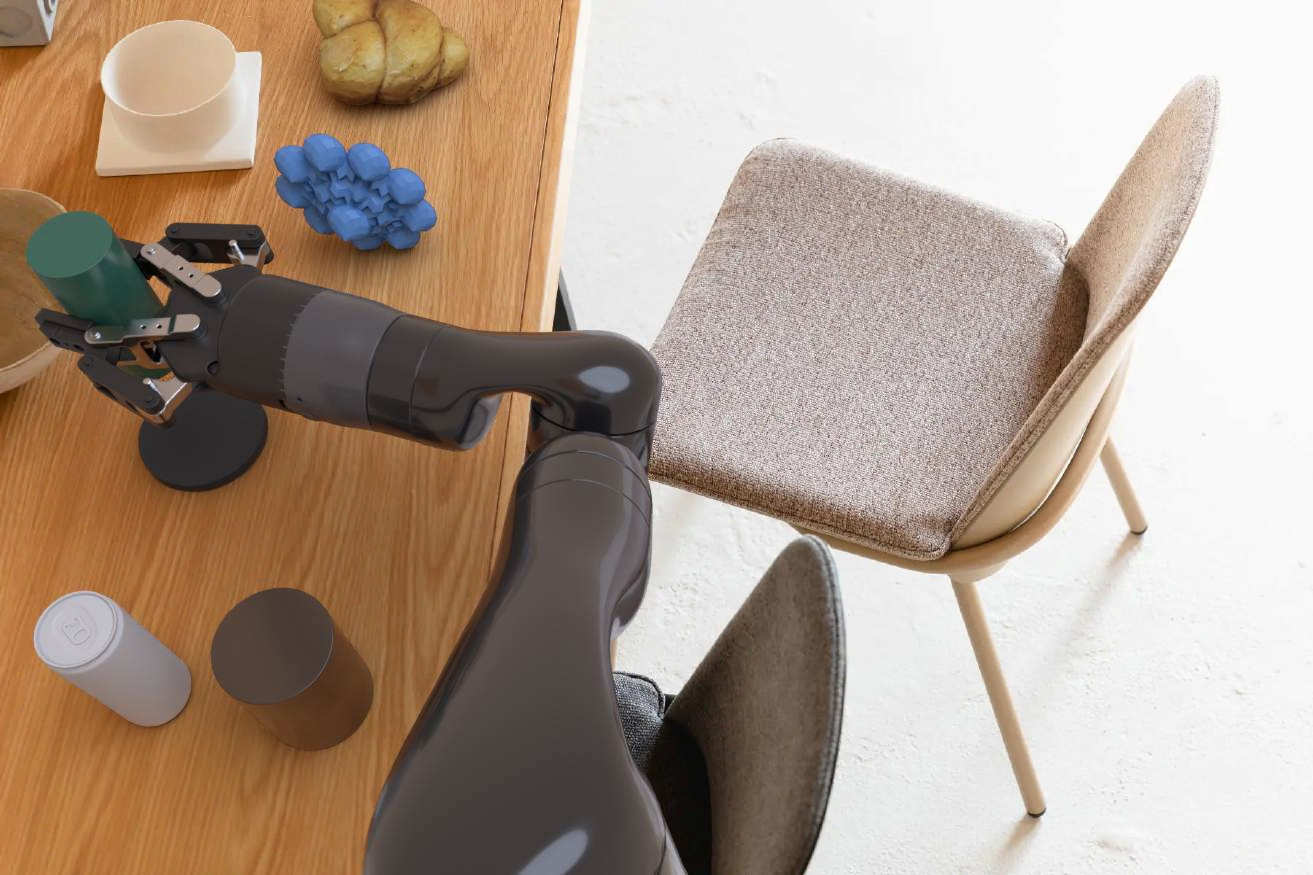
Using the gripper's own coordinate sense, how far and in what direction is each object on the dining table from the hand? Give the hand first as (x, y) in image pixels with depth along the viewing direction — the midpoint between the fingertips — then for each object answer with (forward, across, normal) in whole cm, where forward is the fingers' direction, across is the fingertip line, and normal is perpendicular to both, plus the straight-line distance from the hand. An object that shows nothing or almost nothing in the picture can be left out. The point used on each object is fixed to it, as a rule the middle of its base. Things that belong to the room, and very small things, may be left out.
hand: (69, 286), depth 70 cm
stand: (-19, +15, +17) cm, 30 cm away
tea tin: (-3, 0, +6) cm, 7 cm away
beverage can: (-9, +18, +17) cm, 26 cm away
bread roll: (-1, -37, +17) cm, 41 cm away
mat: (-2, 0, +17) cm, 17 cm away
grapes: (-7, -19, +17) cm, 26 cm away
